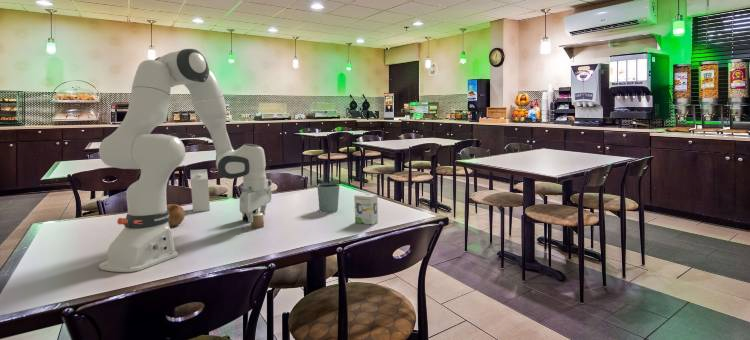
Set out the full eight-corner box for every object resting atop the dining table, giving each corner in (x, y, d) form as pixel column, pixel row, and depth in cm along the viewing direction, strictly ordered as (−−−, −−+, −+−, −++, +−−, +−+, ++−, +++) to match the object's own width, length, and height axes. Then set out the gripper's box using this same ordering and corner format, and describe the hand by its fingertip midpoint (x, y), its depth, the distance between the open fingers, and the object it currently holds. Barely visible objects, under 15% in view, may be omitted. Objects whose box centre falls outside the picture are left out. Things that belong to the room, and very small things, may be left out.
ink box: (378, 222, 175) (378, 194, 174) (372, 225, 171) (372, 196, 169) (360, 219, 179) (360, 192, 178) (354, 222, 175) (353, 194, 173)
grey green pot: (314, 212, 193) (313, 186, 191) (323, 207, 203) (322, 182, 201) (334, 213, 190) (334, 187, 188) (343, 208, 200) (342, 183, 198)
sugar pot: (260, 228, 167) (259, 215, 166) (249, 228, 168) (248, 215, 167) (266, 225, 171) (265, 212, 171) (255, 225, 172) (254, 212, 172)
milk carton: (192, 209, 200) (190, 169, 198) (208, 207, 203) (206, 168, 201) (193, 212, 194) (190, 171, 191) (209, 210, 197) (207, 170, 194)
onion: (179, 233, 171) (182, 214, 167) (154, 229, 169) (156, 209, 164) (186, 220, 179) (189, 200, 175) (162, 215, 177) (164, 195, 173)
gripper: (249, 190, 157) (251, 226, 159) (273, 180, 177) (275, 212, 179) (234, 189, 158) (236, 225, 161) (259, 180, 178) (261, 212, 180)
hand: (256, 218), depth 170 cm, fingers open, 8 cm apart
